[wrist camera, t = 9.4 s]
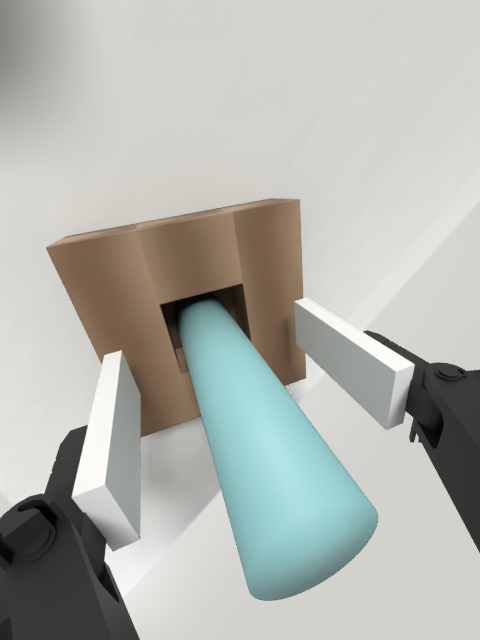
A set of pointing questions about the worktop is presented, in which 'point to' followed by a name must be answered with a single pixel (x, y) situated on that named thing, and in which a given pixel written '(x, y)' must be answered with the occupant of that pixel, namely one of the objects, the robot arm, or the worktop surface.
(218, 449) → the pin
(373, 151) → the worktop surface
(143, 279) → the board
